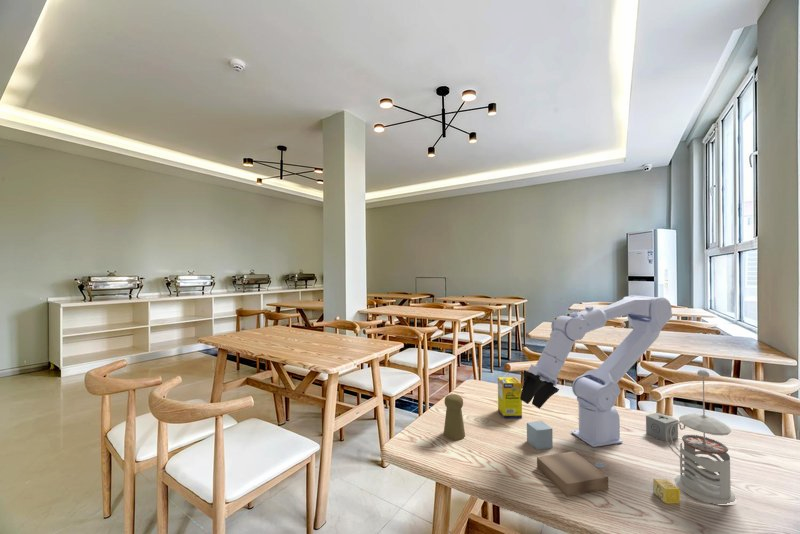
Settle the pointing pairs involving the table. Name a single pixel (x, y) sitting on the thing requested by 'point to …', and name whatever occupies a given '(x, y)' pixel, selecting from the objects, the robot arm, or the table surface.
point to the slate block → (539, 435)
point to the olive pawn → (454, 418)
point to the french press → (704, 458)
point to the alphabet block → (666, 491)
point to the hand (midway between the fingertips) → (529, 404)
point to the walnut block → (572, 473)
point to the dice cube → (661, 426)
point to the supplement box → (509, 397)
